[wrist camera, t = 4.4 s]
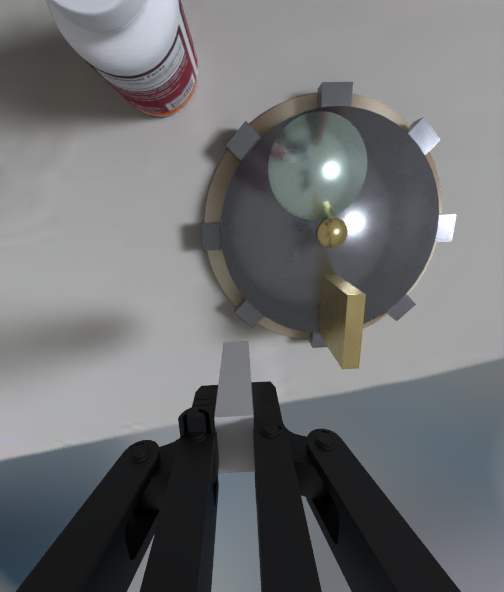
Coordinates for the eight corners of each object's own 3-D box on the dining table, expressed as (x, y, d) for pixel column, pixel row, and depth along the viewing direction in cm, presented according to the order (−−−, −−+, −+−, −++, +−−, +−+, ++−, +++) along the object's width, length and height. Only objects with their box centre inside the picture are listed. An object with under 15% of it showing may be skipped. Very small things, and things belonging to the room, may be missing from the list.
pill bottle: (113, 13, 20) (-29, -212, 9) (202, 28, 20) (162, -170, 10) (116, 114, 22) (-1, 22, 11) (197, 125, 22) (159, 47, 11)
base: (213, 343, 28) (213, 344, 27) (193, 95, 21) (193, 94, 21) (421, 333, 28) (422, 334, 28) (460, 90, 22) (462, 89, 22)
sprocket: (213, 346, 27) (203, 394, 20) (192, 92, 21) (168, 31, 14) (424, 335, 28) (489, 379, 21) (465, 87, 22) (578, 26, 14)
